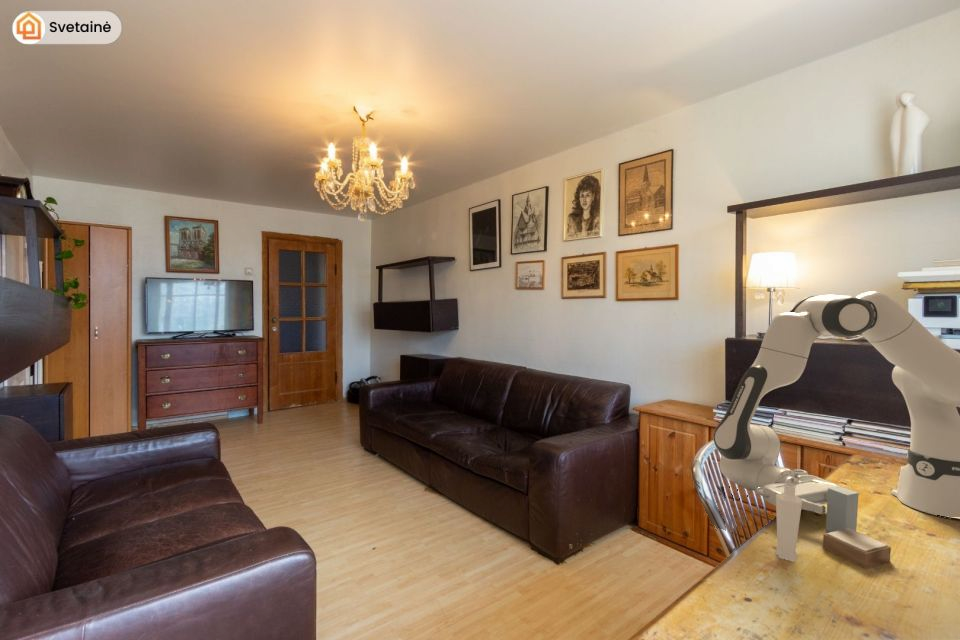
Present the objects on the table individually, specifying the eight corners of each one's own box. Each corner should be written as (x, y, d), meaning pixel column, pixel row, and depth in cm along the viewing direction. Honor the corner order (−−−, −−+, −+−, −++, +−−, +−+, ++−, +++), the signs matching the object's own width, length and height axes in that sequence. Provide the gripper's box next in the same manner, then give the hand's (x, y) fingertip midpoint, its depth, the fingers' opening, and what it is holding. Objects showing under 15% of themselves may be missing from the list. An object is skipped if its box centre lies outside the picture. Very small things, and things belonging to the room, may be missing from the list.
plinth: (846, 541, 100) (847, 527, 100) (889, 561, 93) (890, 545, 92) (822, 547, 97) (823, 532, 97) (865, 568, 90) (866, 552, 90)
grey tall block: (836, 527, 106) (839, 486, 106) (855, 536, 103) (858, 492, 102) (825, 530, 105) (828, 488, 105) (844, 538, 101) (847, 495, 101)
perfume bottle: (804, 564, 91) (808, 490, 90) (780, 561, 92) (784, 488, 91) (793, 551, 95) (797, 482, 95) (770, 549, 96) (774, 479, 95)
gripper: (751, 477, 114) (807, 500, 101) (806, 468, 121) (865, 489, 108) (749, 501, 114) (805, 527, 101) (804, 491, 121) (863, 514, 108)
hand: (837, 507), depth 105 cm, fingers open, 8 cm apart
